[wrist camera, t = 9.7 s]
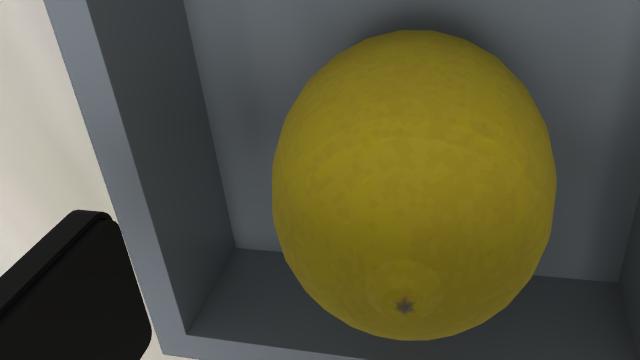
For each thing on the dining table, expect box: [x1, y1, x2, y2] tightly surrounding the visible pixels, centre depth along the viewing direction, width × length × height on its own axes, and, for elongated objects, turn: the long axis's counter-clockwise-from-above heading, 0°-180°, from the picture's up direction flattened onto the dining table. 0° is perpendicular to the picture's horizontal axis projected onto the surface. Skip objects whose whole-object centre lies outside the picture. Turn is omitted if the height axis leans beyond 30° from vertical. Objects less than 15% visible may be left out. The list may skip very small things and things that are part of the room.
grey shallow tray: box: [43, 0, 640, 360], centre depth 14 cm, size 14×14×5 cm
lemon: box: [272, 30, 557, 340], centre depth 12 cm, size 6×6×8 cm
